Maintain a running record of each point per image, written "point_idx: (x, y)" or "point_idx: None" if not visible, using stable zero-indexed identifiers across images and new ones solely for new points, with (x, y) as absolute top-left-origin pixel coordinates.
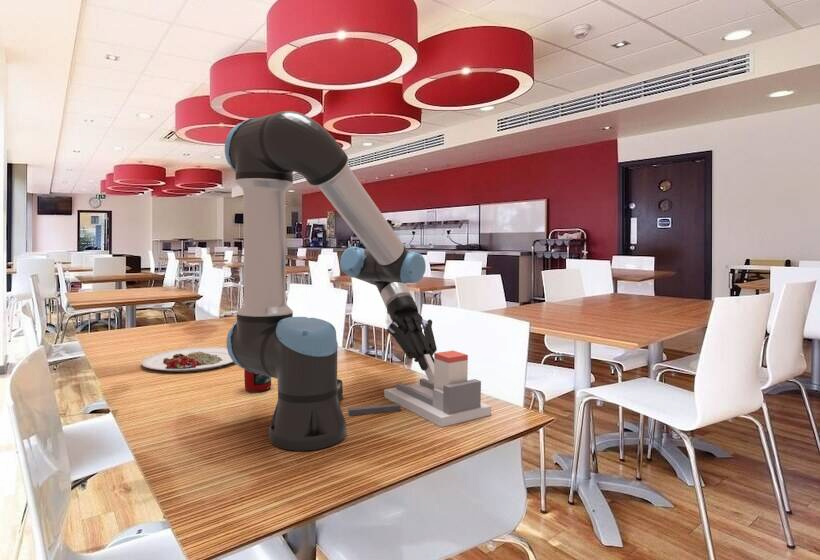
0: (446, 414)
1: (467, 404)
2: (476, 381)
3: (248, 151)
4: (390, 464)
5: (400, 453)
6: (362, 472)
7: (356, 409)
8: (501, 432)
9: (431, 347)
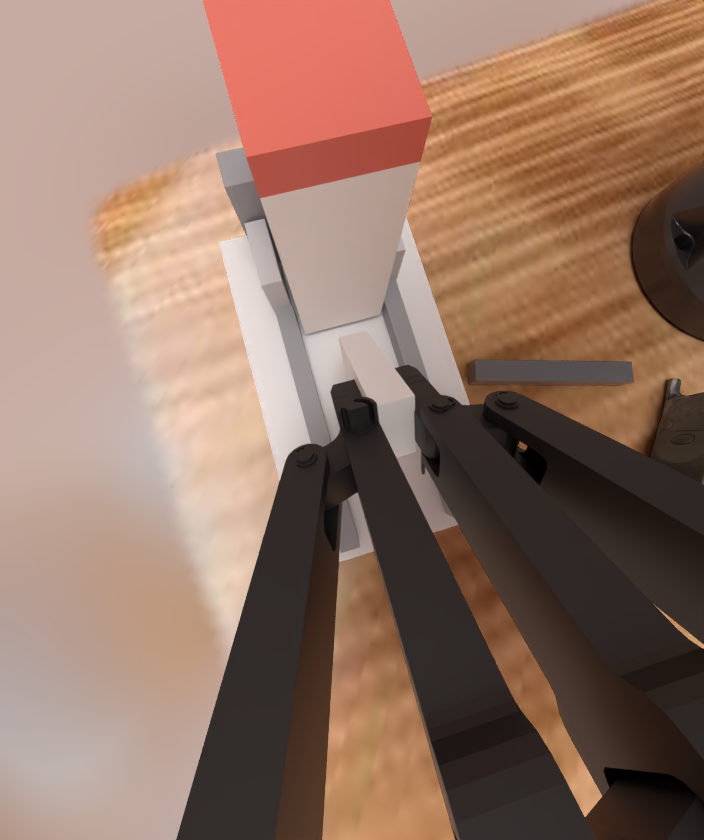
0: None
1: None
2: (236, 155)
3: None
4: (553, 86)
5: (525, 122)
6: (609, 73)
7: (609, 363)
8: None
9: (326, 481)
